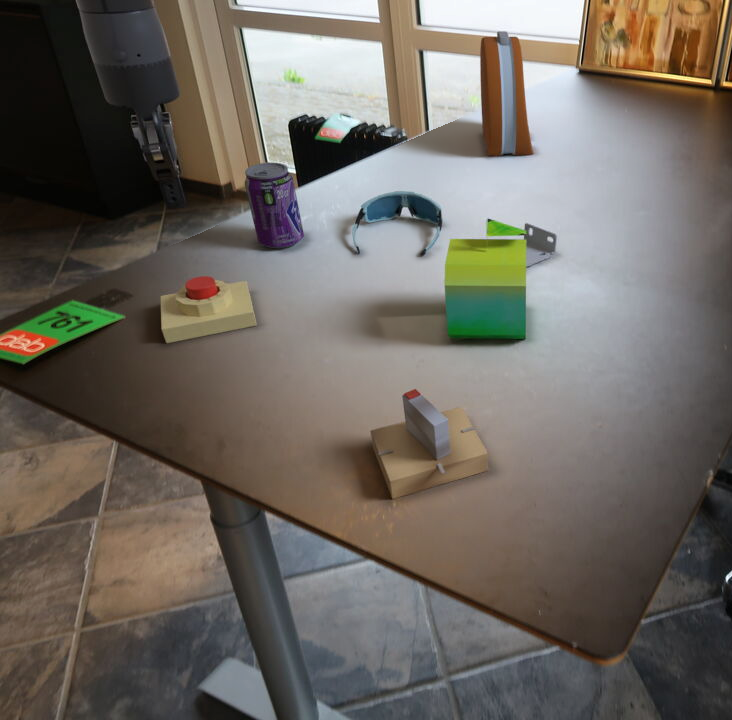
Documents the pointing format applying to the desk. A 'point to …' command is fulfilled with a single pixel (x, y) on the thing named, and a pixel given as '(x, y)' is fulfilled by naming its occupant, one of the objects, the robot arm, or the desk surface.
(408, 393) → the upright gray plate
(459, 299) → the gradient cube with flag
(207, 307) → the box
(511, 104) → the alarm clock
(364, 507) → the desk surface
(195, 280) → the release button
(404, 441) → the block
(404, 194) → the sunglasses
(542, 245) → the bracket
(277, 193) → the beverage can
